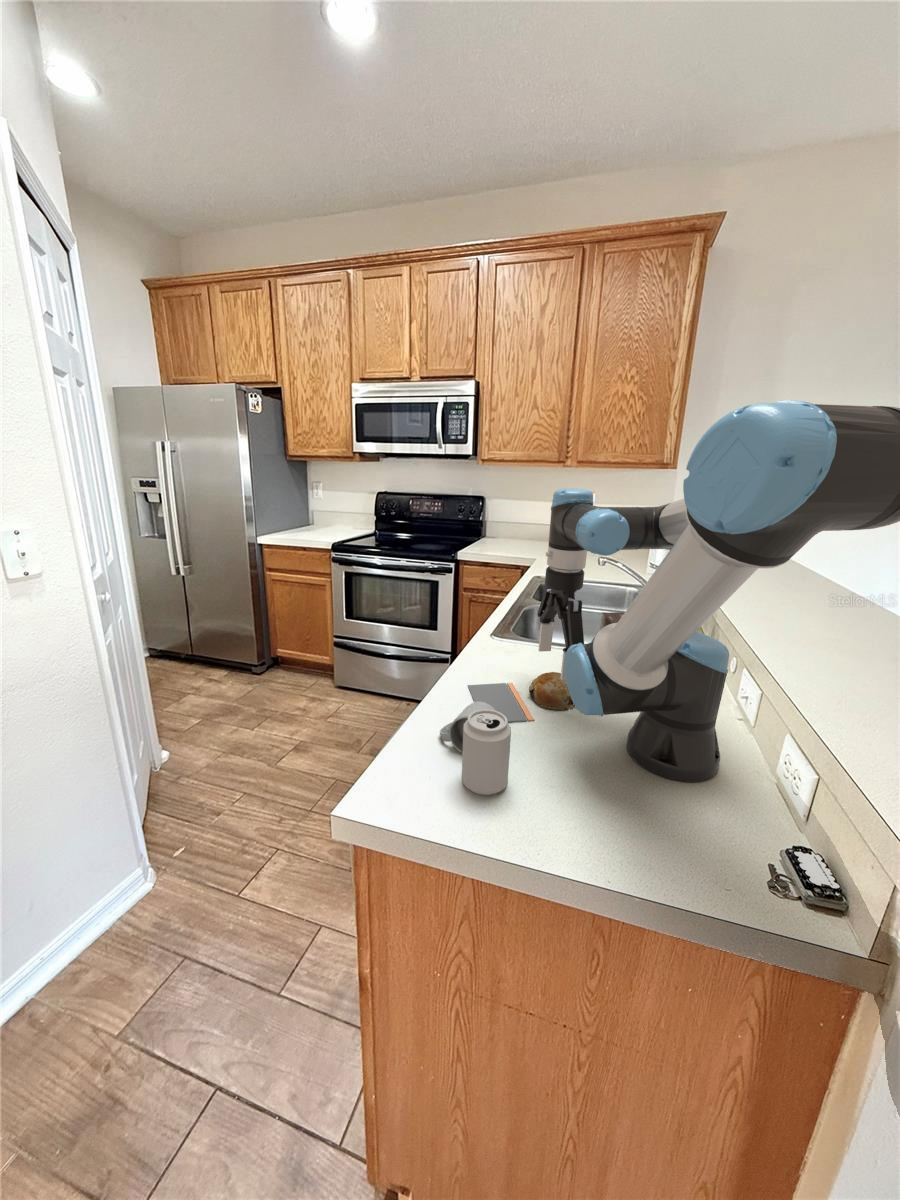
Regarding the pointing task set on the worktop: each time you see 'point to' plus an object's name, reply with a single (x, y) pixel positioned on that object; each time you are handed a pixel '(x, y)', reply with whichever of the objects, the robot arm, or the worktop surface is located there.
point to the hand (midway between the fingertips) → (555, 664)
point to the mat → (502, 700)
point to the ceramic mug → (461, 725)
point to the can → (486, 752)
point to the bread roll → (551, 691)
